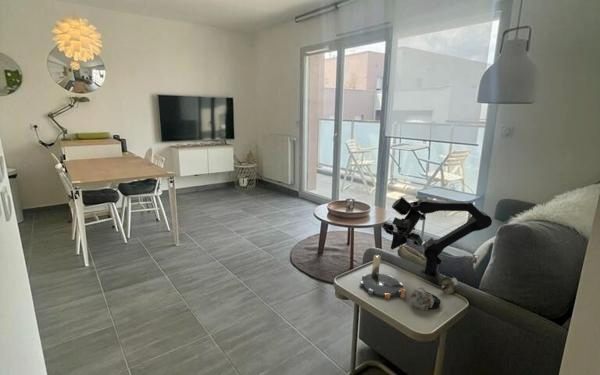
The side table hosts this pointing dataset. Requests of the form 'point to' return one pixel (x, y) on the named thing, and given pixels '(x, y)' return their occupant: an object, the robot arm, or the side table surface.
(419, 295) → the grey rock
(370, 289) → the grey base with rod
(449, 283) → the eagle figurine
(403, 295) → the index pointer
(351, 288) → the side table surface
